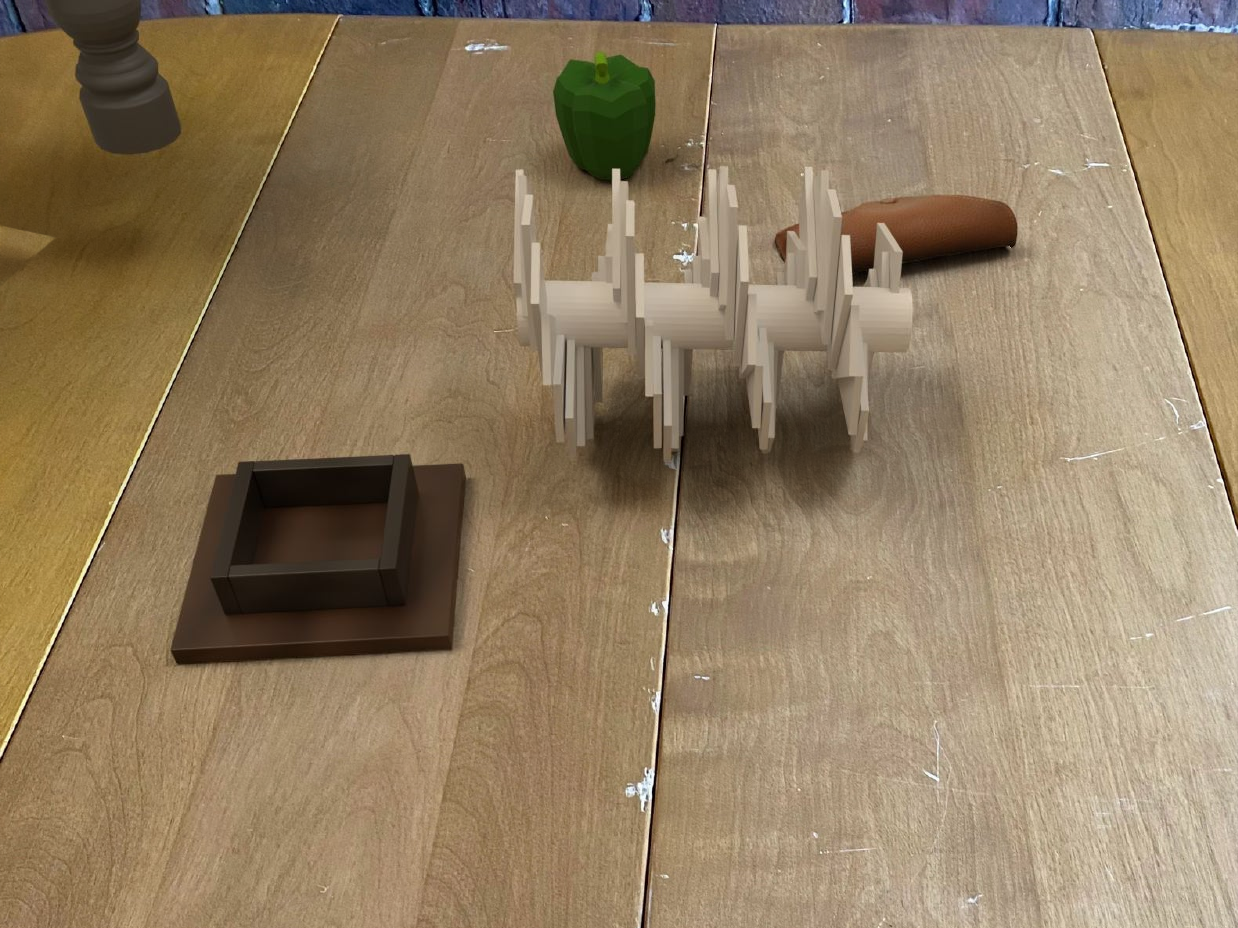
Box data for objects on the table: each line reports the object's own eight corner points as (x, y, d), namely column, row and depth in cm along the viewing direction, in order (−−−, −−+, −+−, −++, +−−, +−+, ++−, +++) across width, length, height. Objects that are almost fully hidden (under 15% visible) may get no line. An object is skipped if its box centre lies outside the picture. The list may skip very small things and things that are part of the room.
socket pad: (176, 664, 82) (152, 612, 78) (220, 488, 92) (201, 436, 89) (452, 649, 82) (440, 597, 79) (466, 477, 93) (455, 425, 89)
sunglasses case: (972, 197, 115) (999, 149, 109) (997, 275, 114) (1026, 231, 108) (766, 234, 111) (782, 186, 105) (791, 315, 111) (808, 271, 104)
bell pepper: (580, 136, 123) (569, 17, 115) (669, 149, 121) (664, 29, 114) (545, 182, 117) (531, 61, 110) (638, 197, 116) (630, 74, 108)
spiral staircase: (891, 507, 97) (528, 505, 95) (879, 283, 101) (532, 276, 99) (944, 372, 79) (500, 365, 77) (927, 107, 84) (506, 94, 82)
